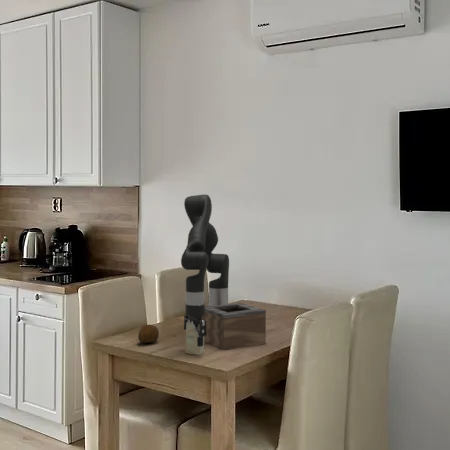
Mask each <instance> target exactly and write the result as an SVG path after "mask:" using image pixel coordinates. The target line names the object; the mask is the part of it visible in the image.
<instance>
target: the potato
mask: <svg viewBox="0 0 450 450" xmlns="http://www.w3.org/2000/svg"><path fill="white" fill-rule="evenodd" d="M159 332H160V331H159V328H158V327H157V326H156V325H153V324H144V325H143V326H141V328H140V329H139V331H138V335H137V338H138V341H139V342H140V343H142V344H150V343H154V342H156V341H157V340H158V339H159V337H160V333H159Z"/></svg>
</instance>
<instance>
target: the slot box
mask: <svg viewBox="0 0 450 450" xmlns="http://www.w3.org/2000/svg"><path fill="white" fill-rule="evenodd" d="M266 312H267V310H266V309H263V308H259V307H256V306H253V305H250V304H245V303H242V302H235V303H228V304H223V305H214V306H208V305H207V306H206V305H205V314H204V315H202V320H206V331H207V335H206V336H204V343H206V344H210V345H211V346H214V347H215V348H219V349H221V350H223V351H227V350H232V349H233V350H235V349H239V348H245V347H246V348H247V347H252V346H261V345H265V344H266V341H267V340H266V337H267V336H266V335H267V334H266V332H267V329H266V328H267V327H266V325H267V322H266V321H267V319H266V317H267V314H266Z"/></svg>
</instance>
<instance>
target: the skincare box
mask: <svg viewBox="0 0 450 450" xmlns="http://www.w3.org/2000/svg"><path fill="white" fill-rule="evenodd" d="M197 329H199V324H198V327H197ZM203 332H204V330H203ZM199 334H200V332H199ZM197 337H198V336H197V333H196V332H195V331H194V327H193V325H192V323H191V322H186V330H185V353H186V354H190V355H191V354H192V355H197V356H199V355H201V354H204V353H205V341H204V336H203V346H201V347H198V346H197Z"/></svg>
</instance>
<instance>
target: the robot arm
mask: <svg viewBox="0 0 450 450" xmlns="http://www.w3.org/2000/svg"><path fill="white" fill-rule="evenodd" d="M212 205H213V204H212V200H211V197H210V196H209V194H197V195H196V194H195V195H190V196H187V197H185V199H184V202H183V206H184V210H185V214H186V215H187V217H188V219H189V221H190V223H191V226H192V227H191V229H190V230H189V232H188V236H187V245H186V247H185V249H184V251H183V253H182V255H181V259H180V264H181V267H182V268H183V269H185V271H186V270H187V271H197V270H198V273H197V274H192V275H188V276H187V277H186V279H185V297H184V298H185V301H184V304H185V306H184V307H185V309H184V310H185V312H184V313H185V314H184V315H183V316H184V317H183V318H184V319H183V323H184V324H183V330H185V331H186V322H191V323H192V325H193V327H194V331H195V332H196V333H197V336H198V337H197V346H198V347H201V346H203V336H206V335H207V331H206V320H202V315H204V314H205V306H206V305H205V304H206V302H205V301H206V298H205V297H206V296H205V276H206V271H207V272H208V273H211V274H220V275H219V277H218V278H215V279H211V280H210V281H209V282H208V304H207V306H214V305H223V304H229V273H230V272H229V271H230V258H229V255H228V254H226V253H225V254H224V253H213V251H214V250H215V248H216V246H217V245H218V242H219V236H218V233H217V230H216V228H215V226H214V225H213V224H212V223H211V222H210V219H211V216H212V207H213V206H212ZM198 324H199V329H197V327H198ZM203 330H204V332H203ZM199 332H200V334H199Z"/></svg>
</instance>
